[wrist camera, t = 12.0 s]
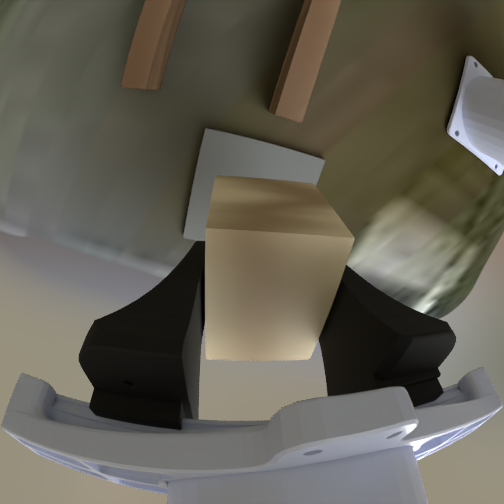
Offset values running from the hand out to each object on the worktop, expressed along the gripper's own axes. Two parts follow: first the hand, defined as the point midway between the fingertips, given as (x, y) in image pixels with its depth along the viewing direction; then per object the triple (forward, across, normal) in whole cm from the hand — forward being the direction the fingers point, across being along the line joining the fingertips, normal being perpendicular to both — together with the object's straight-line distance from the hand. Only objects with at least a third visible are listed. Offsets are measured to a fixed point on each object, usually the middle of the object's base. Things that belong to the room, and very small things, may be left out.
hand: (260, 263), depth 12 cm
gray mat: (+8, 0, 0) cm, 8 cm away
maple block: (+2, 0, 0) cm, 2 cm away
